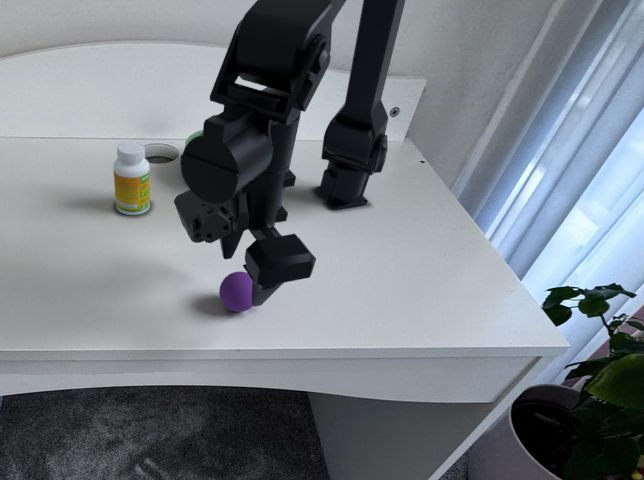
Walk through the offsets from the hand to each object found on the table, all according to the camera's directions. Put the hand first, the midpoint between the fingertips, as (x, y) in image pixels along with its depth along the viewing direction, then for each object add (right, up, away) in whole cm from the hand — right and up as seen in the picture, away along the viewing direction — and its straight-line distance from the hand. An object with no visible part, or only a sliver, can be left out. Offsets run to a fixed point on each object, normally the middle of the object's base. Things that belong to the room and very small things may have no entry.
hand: (241, 280), depth 61 cm
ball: (0, -1, +1) cm, 2 cm away
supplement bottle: (-15, +14, +18) cm, 27 cm away
